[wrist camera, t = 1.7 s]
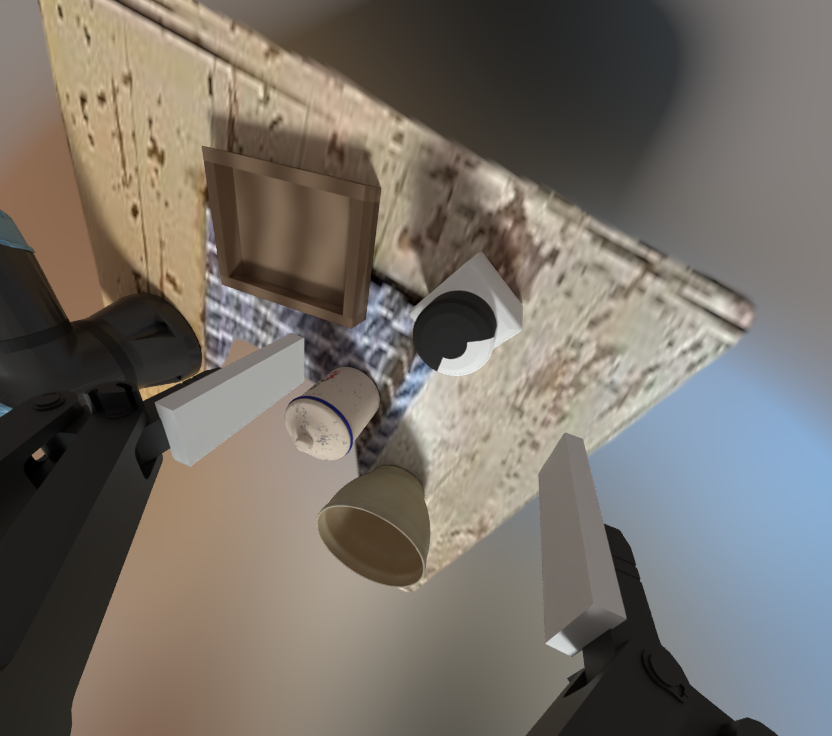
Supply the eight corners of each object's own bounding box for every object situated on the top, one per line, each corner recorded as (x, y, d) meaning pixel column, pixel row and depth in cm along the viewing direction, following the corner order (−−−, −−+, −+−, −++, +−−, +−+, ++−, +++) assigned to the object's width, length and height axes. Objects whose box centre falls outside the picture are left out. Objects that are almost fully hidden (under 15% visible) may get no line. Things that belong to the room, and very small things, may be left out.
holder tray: (244, 279, 39) (221, 284, 36) (231, 151, 32) (201, 145, 29) (365, 319, 36) (351, 328, 33) (381, 188, 29) (364, 185, 26)
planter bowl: (398, 432, 43) (364, 492, 34) (465, 507, 46) (450, 581, 36) (336, 466, 51) (295, 521, 42) (395, 528, 54) (369, 592, 45)
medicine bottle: (428, 295, 32) (384, 332, 22) (481, 249, 29) (457, 269, 18) (468, 344, 33) (443, 401, 23) (524, 306, 30) (523, 355, 20)
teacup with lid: (337, 351, 40) (276, 396, 30) (393, 389, 40) (349, 447, 30) (312, 406, 46) (255, 458, 36) (360, 439, 46) (315, 500, 36)
